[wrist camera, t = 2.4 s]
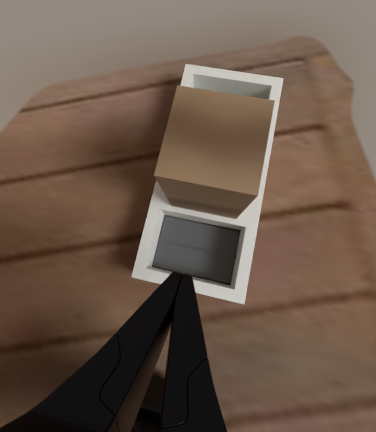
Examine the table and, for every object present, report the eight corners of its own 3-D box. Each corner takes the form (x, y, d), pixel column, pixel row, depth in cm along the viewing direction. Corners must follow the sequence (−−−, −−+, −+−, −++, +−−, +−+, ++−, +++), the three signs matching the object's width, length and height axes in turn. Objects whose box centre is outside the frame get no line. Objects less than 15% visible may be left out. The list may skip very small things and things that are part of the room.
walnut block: (235, 219, 20) (257, 195, 13) (171, 205, 21) (153, 175, 13) (247, 157, 21) (274, 100, 14) (185, 146, 22) (177, 85, 14)
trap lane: (238, 298, 22) (244, 304, 19) (140, 274, 23) (131, 277, 20) (273, 98, 26) (283, 78, 23) (187, 85, 27) (185, 64, 24)
